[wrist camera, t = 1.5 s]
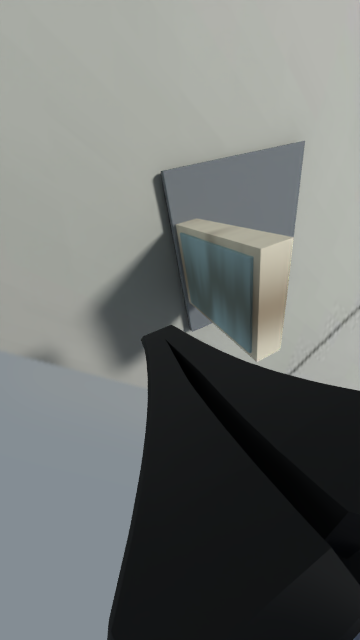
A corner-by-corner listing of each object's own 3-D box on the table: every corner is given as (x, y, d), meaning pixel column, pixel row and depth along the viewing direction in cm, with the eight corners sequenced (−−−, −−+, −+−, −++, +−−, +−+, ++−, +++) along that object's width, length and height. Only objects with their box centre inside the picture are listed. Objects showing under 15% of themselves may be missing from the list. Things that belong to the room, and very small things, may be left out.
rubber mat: (284, 289, 22) (287, 290, 22) (190, 329, 20) (192, 331, 19) (300, 141, 16) (305, 140, 15) (160, 171, 13) (162, 170, 13)
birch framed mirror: (206, 295, 18) (280, 349, 12) (187, 302, 18) (254, 363, 11) (196, 218, 15) (293, 237, 8) (173, 224, 14) (257, 249, 8)
